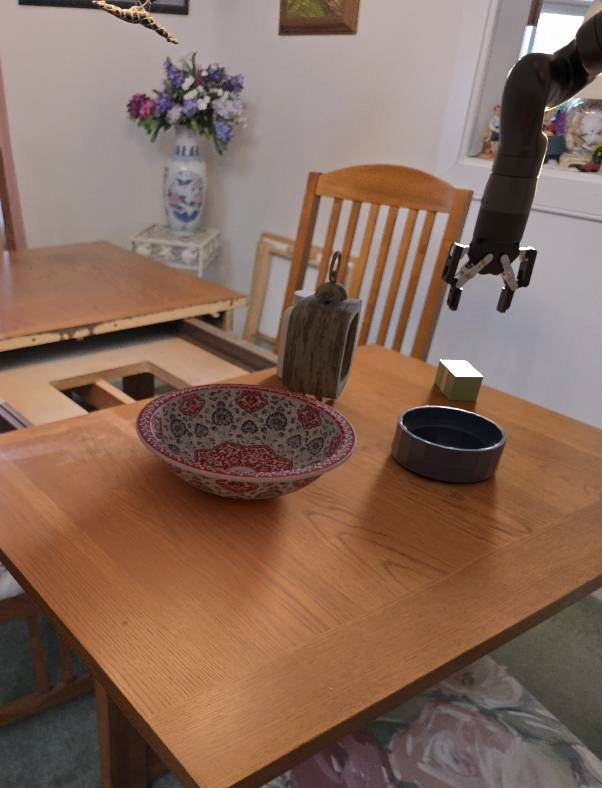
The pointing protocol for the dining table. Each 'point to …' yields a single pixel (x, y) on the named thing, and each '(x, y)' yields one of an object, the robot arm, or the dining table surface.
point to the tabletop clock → (321, 340)
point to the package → (458, 380)
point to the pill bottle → (296, 298)
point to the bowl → (448, 443)
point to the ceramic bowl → (245, 438)
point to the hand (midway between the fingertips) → (476, 310)
